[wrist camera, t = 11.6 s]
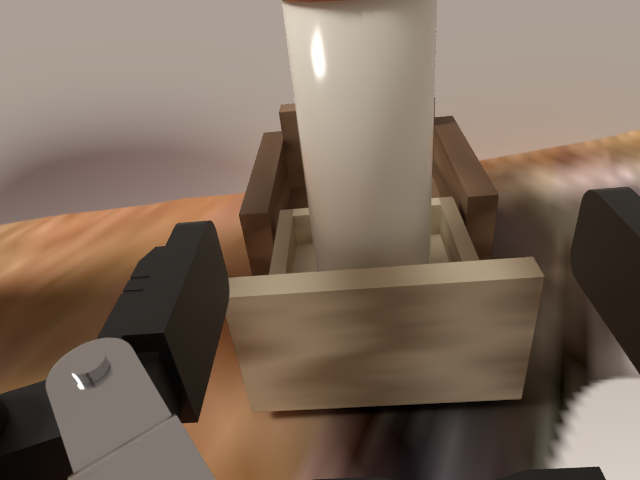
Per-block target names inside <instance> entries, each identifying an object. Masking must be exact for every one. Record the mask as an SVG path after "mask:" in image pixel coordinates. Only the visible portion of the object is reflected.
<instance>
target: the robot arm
mask: <svg viewBox="0 0 640 480" xmlns="http://www.w3.org/2000/svg"><path fill="white" fill-rule="evenodd" d="M570 258H571V268H572V272H573V275H574V277H575V279H576V281H577V282H578V283H579V285H580V286H581V288H582V289H583V291H584V292H585V294H586V295H587V297H588V298H589V300H590V301H591V303H592V304H593V306H594V307H595V309H596V310H597V312H598V313H599V315H600V316H601V318H602V319H603V321H604V322H605V323H606V325H607V326H608V328H609V329H610V331H611V332H612V334H613V335H614V337H615V338H616V340H617V341H618V343H619V344H620V346H621V347H622V349H623V350H624V352H625V353H626V355H627V356H628V358H629V359H630V361H631V362H632V363H633V365H634V366H635V368H636V369H637V371H638V372H639V374H640V196H639V195H638V194H637V193H636V192H634V191H633V190H632V189H631V188H629V187H618V188H606V189H594V190H588V191H587V192H586V193H585V194H584V196H583V198H582V201H581V205H580V210H579V215H578V220H577V224H576V229H575V234H574V239H573V243H572V248H571V256H570ZM130 278H131V280H129V281H128V283H127V284H126V286H125V288H124V290H123V294H121V295H120V297H119V299H118V301H117V303H116V305H115V306H114V308H113V310H112V312H111V314H110V316H109V317H108V319H107V321H106V323H105V325H104V327H103V328H102V330H101V332H100V334H99V336H98V337H97V339H96V340H92V341H89V342H86V343H84V344H82V345H80V346H78V347H76V348H74V349H72V350H71V351H69V352H68V353H66V354H65V355H64V356H63V357H62V358H60V359H59V360H58V361H57V362H56V364H55V365H54V366H53V367H52V369H51V370H50V372H49V374H48V376H47V379H46V380H44V381H42V382H38V383H35V384H32V385H29V386H25V387H22V388H19V389H15V390H12V391H9V392H6V393H2V394H0V480H215V478H214V476H213V475H212V473H211V471H210V470H209V468H208V466H207V465H206V463H205V461H204V460H203V458H202V456H201V455H200V453H199V451H198V450H197V448H196V446H195V445H194V443H193V441H192V440H191V438H190V436H189V435H188V433H187V431H186V430H185V428H184V426H183V425H182V423H195V422H198V420H199V416H200V412H201V408H202V404H203V400H204V397H205V393H206V389H207V385H208V381H209V377H210V373H211V369H212V365H213V362H214V358H215V354H216V350H217V346H218V342H219V338H220V334H221V331H222V327H223V323H224V319H225V315H226V311H227V307H228V303H229V294H230V290H229V279H228V274H227V270H226V266H225V263H224V259H223V255H222V251H221V247H220V243H219V240H218V236H217V232H216V228H215V226H214V224H213V222H212V221H198V222H186V223H178V224H176V225H175V227H174V229H173V231H172V233H171V235H170V237H169V239H168V241H167V243H166V246H161V247H155V248H154V249H153V250H152V251H150V252H149V253H148V254H147V255H146V256H145V257H144V258H142V259H141V260H140V261H139V262H138V264H137V266H136V268H135V270H134V272H133V273H132V275H131V277H130ZM316 480H394V479H389V478H384V477H360V478H338V479H316ZM497 480H606V479H605V477H604V475H603V473H602V471H601V469H600V467H582V468H559V469H537V470H525V471H522V472H519V473H515V474H512V475H509V476H506V477H503V478H500V479H497Z"/></svg>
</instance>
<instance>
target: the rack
mask: <svg viewBox="0 0 640 480" xmlns="http://www.w3.org/2000/svg"><path fill="white" fill-rule="evenodd" d="M434 114H435V97H434ZM279 115H280V122H281V129H282V131H279V132H269V133H264V134H263V137H262V140H261V144H260V147H259V150H258V154H257V157H256V160H255V164H254V167H253V170H252V174H251V177H250V181H249V183H248V187H247V190H246V193H245V197H244V200H243V203H242V206H241V210H240V213H239V218H240V222H241V226H242V231H243V235H244V240H245V244H246V249H247V253H248V258H249V262H250V267H251V271H252V276H261V275H269V271H270V266H271V260H272V254H273V248H274V242H275V236H276V230H277V225H278V219H279V213H280V210H288V209H301V208H309V207H308V199H307V191H306V184H305V176H304V168H303V161H302V153H301V145H300V138H299V130H298V122H297V115H296V107H295V104H285V105H281V107H280V111H279ZM441 197H453V198H454V201H455V203H456V206H457V208H458V210H459V213H460V215H461V217H462V220H463V222H464V225H465V227H466V229H467V232H468V234H469V236H470V239H471V241H472V244H473V246H474V248H475V251H476V253H477V255H478V258H479V260H491V258H492V249H493V240H494V231H495V222H496V213H497V204H498V193H497V191H496V189H495V188H494V186H493V184H492V183H491V181H490V179H489V177H488V176H487V174H486V172H485V171H484V169H483V167H482V165H481V164H480V162H479V160H478V159H477V157H476V155H475V153H474V152H473V150H472V148H471V147H470V145H469V143H468V142H467V140H466V138H465V136H464V135H463V133H462V131H461V130H460V128H459V126H458V124H457V123H456V121H455V119H454V118H453V116H446V117H436V118H435V117H434V129H433V165H432V198H441Z"/></svg>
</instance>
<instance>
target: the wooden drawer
mask: <svg viewBox="0 0 640 480" xmlns="http://www.w3.org/2000/svg"><path fill="white" fill-rule="evenodd" d="M544 278H545V276H544V275H543V273H542V271H541V269H540V268H539V266H538V264H537V263H536V261H535V259H534V257H521V258H507V259H492V260H479V258H478V255H477V253H476V251H475V248H474V246H473V244H472V241H471V239H470V236H469V234H468V232H467V229H466V227H465V225H464V222H463V220H462V217H461V215H460V213H459V210H458V208H457V206H456V203H455V201H454V198H453V197H441V198H432V202H431V239H430V264H420V265H406V266H391V267H377V268H362V269H348V270H333V271H319V272H317V268H316V261H315V253H314V245H313V238H312V230H311V222H310V214H309V208H301V209H288V210H280V213H279V219H278V225H277V230H276V236H275V242H274V248H273V254H272V260H271V266H270V271H269V275H261V276H246V277H232V278H228V279H229V290H230V294H229V303H228V307H227V311H226V315H225V316H226V320H227V323H228V327H229V330H230V334H231V337H232V341H233V345H234V348H235V352H236V355H237V359H238V363H239V366H240V370H241V373H242V377H243V381H244V384H245V388H246V391H247V395H248V399H249V402H250V406H251V409H252V412H266V411H286V410H307V409H327V408H348V407H368V406H389V405H409V404H430V403H450V402H471V401H491V400H512V399H522V393H523V388H524V383H525V378H526V372H527V367H528V362H529V357H530V351H531V346H532V341H533V336H534V330H535V325H536V320H537V315H538V309H539V304H540V299H541V293H542V288H543V283H544Z"/></svg>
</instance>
